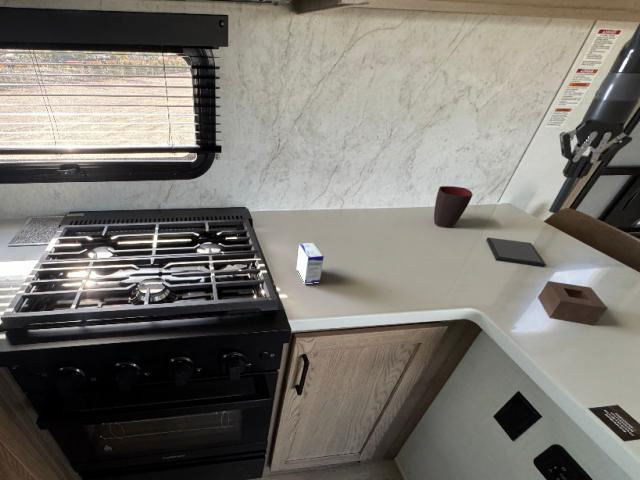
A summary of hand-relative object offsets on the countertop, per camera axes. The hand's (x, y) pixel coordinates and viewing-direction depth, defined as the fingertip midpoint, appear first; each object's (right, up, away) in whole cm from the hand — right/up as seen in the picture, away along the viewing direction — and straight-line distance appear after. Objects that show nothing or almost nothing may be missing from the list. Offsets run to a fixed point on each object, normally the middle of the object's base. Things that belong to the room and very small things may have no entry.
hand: (572, 176), depth 86 cm
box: (-64, -24, +10) cm, 69 cm away
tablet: (+1, -16, +20) cm, 26 cm away
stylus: (0, -7, +5) cm, 9 cm away
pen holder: (-5, -33, -3) cm, 34 cm away
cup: (-10, -3, +39) cm, 40 cm away
